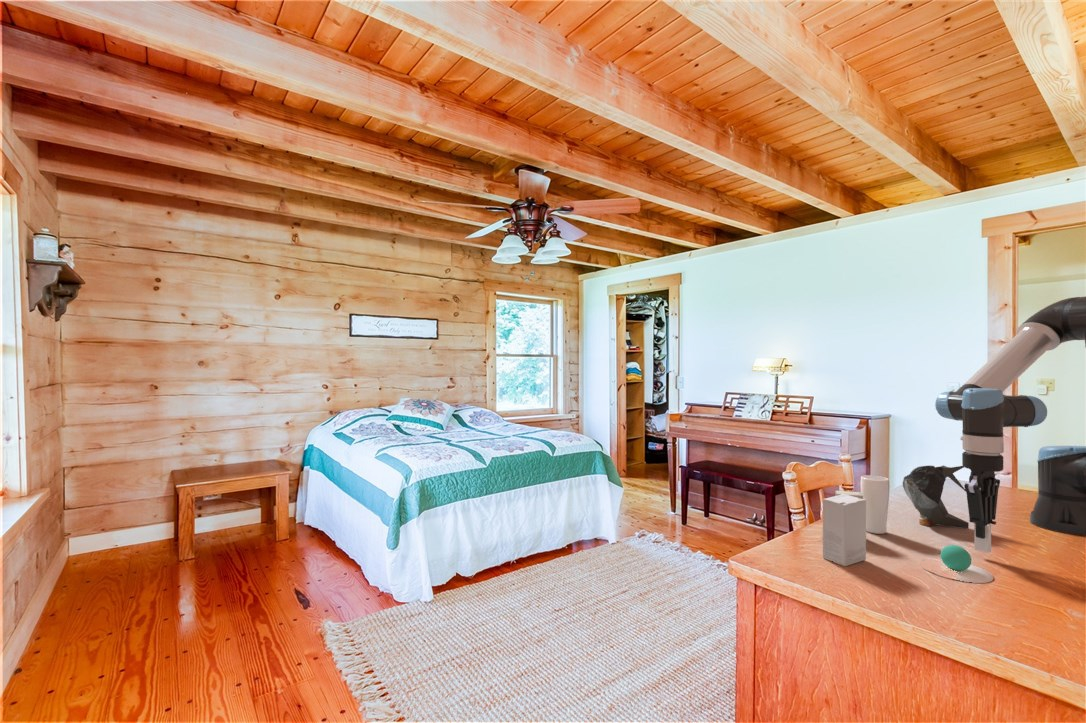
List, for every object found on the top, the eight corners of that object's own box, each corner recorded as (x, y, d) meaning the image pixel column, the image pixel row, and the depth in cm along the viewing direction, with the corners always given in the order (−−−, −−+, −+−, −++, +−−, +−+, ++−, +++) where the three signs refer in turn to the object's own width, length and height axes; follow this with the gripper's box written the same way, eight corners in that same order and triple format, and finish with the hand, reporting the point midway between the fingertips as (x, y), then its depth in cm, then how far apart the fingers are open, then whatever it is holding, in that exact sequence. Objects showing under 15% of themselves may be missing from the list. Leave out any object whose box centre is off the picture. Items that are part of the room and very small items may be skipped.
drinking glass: (894, 536, 139) (894, 481, 139) (866, 534, 140) (866, 480, 140) (883, 528, 145) (882, 475, 145) (856, 526, 147) (856, 474, 147)
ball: (955, 572, 119) (959, 549, 120) (975, 576, 113) (980, 552, 114) (932, 562, 119) (937, 539, 120) (951, 567, 114) (956, 542, 115)
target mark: (961, 559, 123) (961, 558, 123) (1010, 583, 110) (1010, 582, 110) (906, 559, 123) (906, 558, 123) (948, 583, 110) (948, 582, 110)
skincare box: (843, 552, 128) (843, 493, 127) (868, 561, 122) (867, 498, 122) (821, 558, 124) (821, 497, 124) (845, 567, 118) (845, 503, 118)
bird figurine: (897, 514, 159) (897, 456, 159) (958, 520, 152) (958, 459, 152) (908, 528, 146) (908, 464, 145) (976, 535, 139) (976, 469, 139)
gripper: (975, 447, 130) (975, 541, 130) (950, 452, 123) (951, 550, 123) (1013, 452, 123) (1014, 550, 123) (990, 457, 117) (990, 561, 117)
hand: (982, 550), depth 123 cm, fingers closed
